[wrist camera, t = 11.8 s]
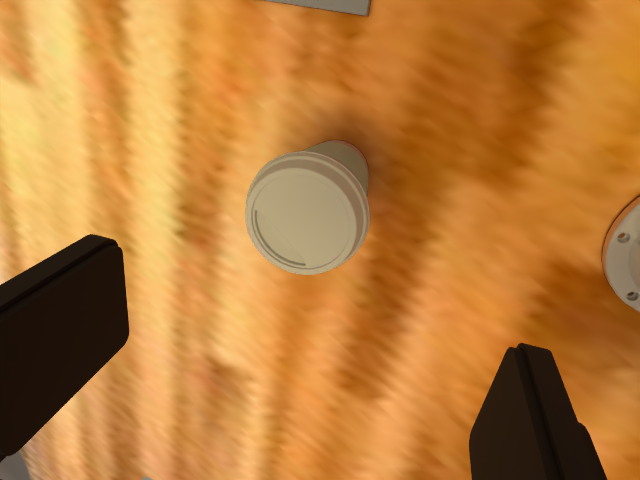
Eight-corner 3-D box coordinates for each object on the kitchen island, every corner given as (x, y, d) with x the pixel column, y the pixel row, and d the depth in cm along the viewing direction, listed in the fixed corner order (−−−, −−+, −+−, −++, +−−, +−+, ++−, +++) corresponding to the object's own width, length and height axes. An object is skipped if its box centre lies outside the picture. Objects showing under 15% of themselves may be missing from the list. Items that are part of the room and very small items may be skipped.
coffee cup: (281, 130, 37) (222, 166, 27) (378, 117, 35) (356, 151, 24) (299, 220, 41) (253, 284, 30) (389, 214, 38) (373, 280, 28)
